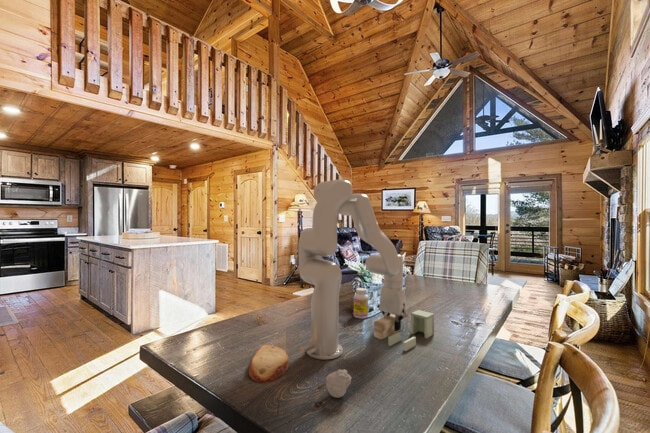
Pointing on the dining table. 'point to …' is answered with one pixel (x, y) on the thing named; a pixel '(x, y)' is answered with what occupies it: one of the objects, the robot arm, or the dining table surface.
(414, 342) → the cradle
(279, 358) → the slice of bread
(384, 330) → the tan rectangular block
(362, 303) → the supplement bottle
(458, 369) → the dining table surface
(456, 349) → the dining table surface
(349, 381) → the pale grey rounded lump
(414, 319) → the end cap
